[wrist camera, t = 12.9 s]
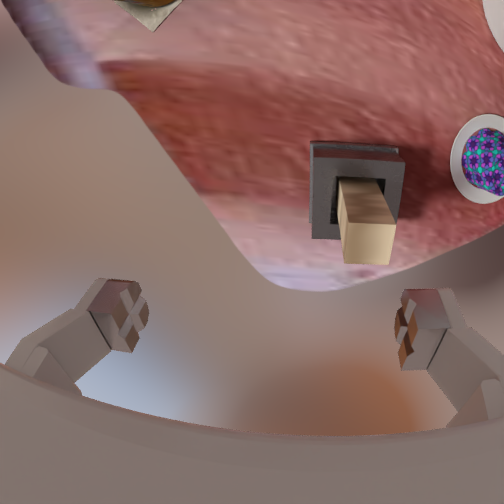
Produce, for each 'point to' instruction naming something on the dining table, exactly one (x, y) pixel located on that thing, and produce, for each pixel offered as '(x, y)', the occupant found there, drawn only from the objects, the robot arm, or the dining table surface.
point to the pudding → (480, 159)
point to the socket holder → (352, 165)
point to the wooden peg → (364, 221)
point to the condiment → (149, 10)
